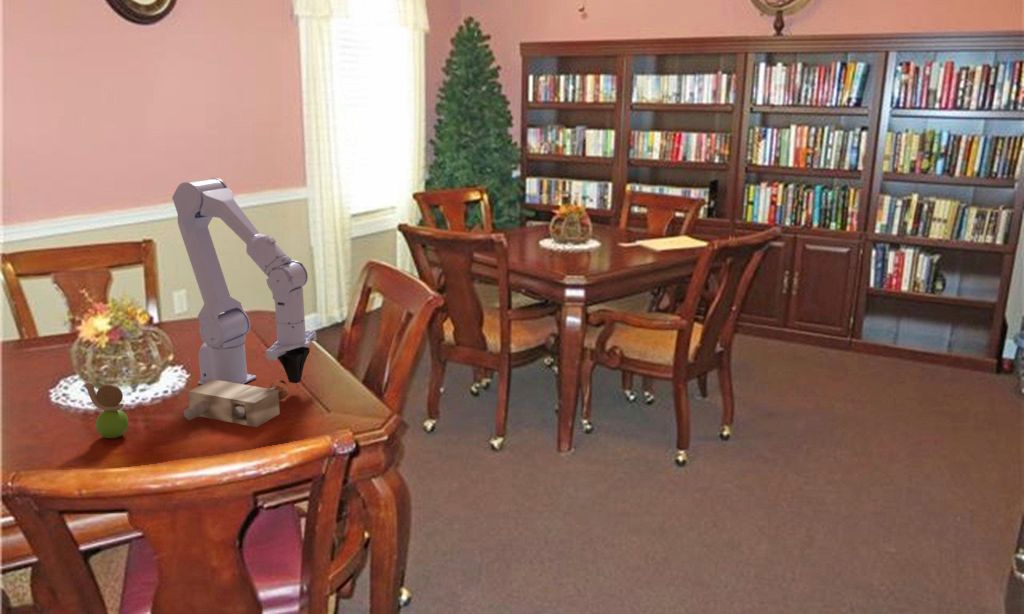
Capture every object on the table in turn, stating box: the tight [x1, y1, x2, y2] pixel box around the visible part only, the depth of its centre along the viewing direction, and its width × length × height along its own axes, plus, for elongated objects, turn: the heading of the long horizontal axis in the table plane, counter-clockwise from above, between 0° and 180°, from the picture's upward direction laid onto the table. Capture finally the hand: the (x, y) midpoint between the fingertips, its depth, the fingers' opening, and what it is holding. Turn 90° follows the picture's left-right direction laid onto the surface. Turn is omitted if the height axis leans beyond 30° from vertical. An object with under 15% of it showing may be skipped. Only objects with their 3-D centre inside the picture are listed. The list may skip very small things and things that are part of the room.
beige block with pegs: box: [183, 379, 281, 428], centre depth 152 cm, size 16×12×5 cm
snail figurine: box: [83, 375, 130, 439], centre depth 142 cm, size 5×6×12 cm
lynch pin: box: [234, 379, 290, 417], centre depth 155 cm, size 4×13×4 cm, turn 159°
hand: (294, 381), depth 165 cm, fingers closed
